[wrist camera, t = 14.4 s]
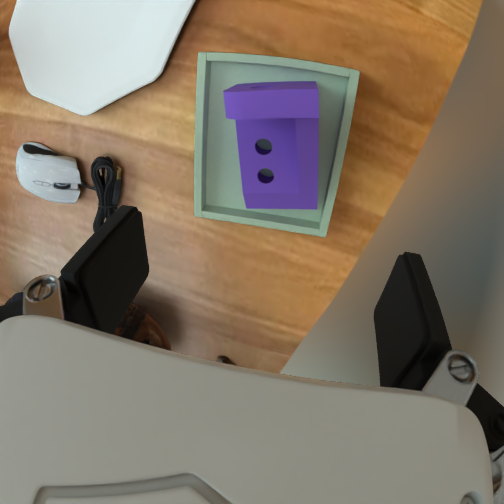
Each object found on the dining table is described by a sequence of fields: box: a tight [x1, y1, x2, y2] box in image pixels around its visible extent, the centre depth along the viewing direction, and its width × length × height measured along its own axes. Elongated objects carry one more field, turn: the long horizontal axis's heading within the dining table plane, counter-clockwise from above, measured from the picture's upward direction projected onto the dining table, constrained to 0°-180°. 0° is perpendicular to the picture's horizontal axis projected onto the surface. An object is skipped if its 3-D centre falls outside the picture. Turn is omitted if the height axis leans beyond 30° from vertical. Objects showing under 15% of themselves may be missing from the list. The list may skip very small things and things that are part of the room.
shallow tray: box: [194, 52, 360, 237], centre depth 28 cm, size 14×17×2 cm
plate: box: [9, 0, 196, 116], centre depth 21 cm, size 24×24×2 cm
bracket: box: [223, 81, 319, 210], centre depth 26 cm, size 12×7×7 cm, turn 5°
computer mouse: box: [16, 142, 122, 233], centre depth 33 cm, size 10×18×4 cm, turn 72°
